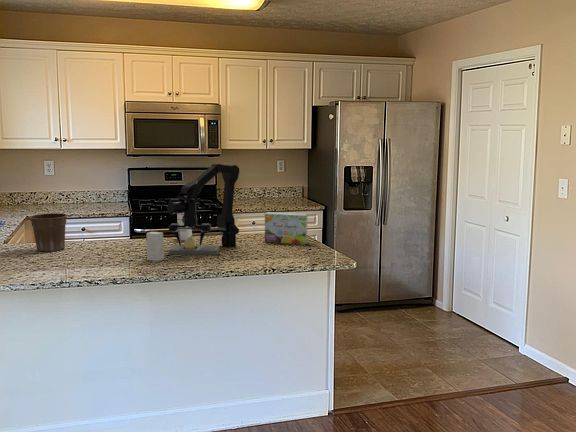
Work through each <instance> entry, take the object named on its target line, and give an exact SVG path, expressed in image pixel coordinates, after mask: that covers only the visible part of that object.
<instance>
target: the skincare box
mask: <svg viewBox="0 0 576 432" xmlns="http://www.w3.org/2000/svg"><path fill="white" fill-rule="evenodd" d="M164 247H165V245H164V232H162V231H161V232H159V231H150V232H147V233H146V254H147V256H146V258H147V259H146V260H147V261H155V262H160V261H163V260H165V251H164Z"/></svg>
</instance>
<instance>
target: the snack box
mask: <svg viewBox="0 0 576 432" xmlns="http://www.w3.org/2000/svg"><path fill="white" fill-rule="evenodd" d="M264 242H265V243H272V242H273V243H274V244H275V243H276V244H291V245H303V246H304V245H306V244H307V243H308V213H295V212H294V213H290V212H277V211H276V212H273V211H271V212H270V211H268V212H265V213H264Z"/></svg>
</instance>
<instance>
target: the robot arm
mask: <svg viewBox="0 0 576 432" xmlns="http://www.w3.org/2000/svg"><path fill="white" fill-rule="evenodd" d="M218 174H221V177H222V180H223V182H224V184H223V185H224V186H223V196H222V197H223V199H222V207H221V208H222V209H221V210H222V211H221V213H220V214H218V215H217V218H216V219H217V220H216V224H217V225H216V226H217V228H218V229H219V232H220V233H222V236H221V245H222V247H226V248H229V247H231V248H232V247H237V234H238V235H239V232H240V229H239V228H238V226H237V225H236V220H235V219H236V218H235V217H234V214H233V207H234V195H235V185H236V182H237V181H238V179H239V176H240V168H239V166H238V165H236V164H222V163H215V162H214V163H212V164H211V165H210V166H209V167H208V168H207V169H206V170H205V171H203V173H201V174H200V175H199V176H198V177H197V178H195V179H194V180H192V181H190V182H189V181H188V182H187V183H185V184H183V186H181V188H180V191H179V193H178V195H177V197H176V198H170V199H169V201H168V203H167V207H166V209H167V213H168V214H170V215H175V214H176V215H177V214H179V213H183V212H184V216H183V217H182V222H183V223H184V225H179V223H178V222H177V223H173V222H172V223H170V225H169V226H168V231H169V232H171V233H172V234H174V236H175V238H176V239H177V243H178V245H180V246H181V245H182V240H181V237H180V230H179V229H192V230H201V231H200V236H199V245H200V246H201V245H203V243H202V242H203V240H204V237H205V234H207V233H208V232H211V230H212V224H211V223H207V222H206V223H201V225H199V224H198V217H197V203H200V202H201V199H199V198H198V197H197V196H198V195H199V194H200V192H201V191H202V188H203V187H205V185H206V184H208V183H209V182H210V181H211V180H212V179H213V178H214V177H216V176H217V175H218ZM186 226H188V227H186Z"/></svg>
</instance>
